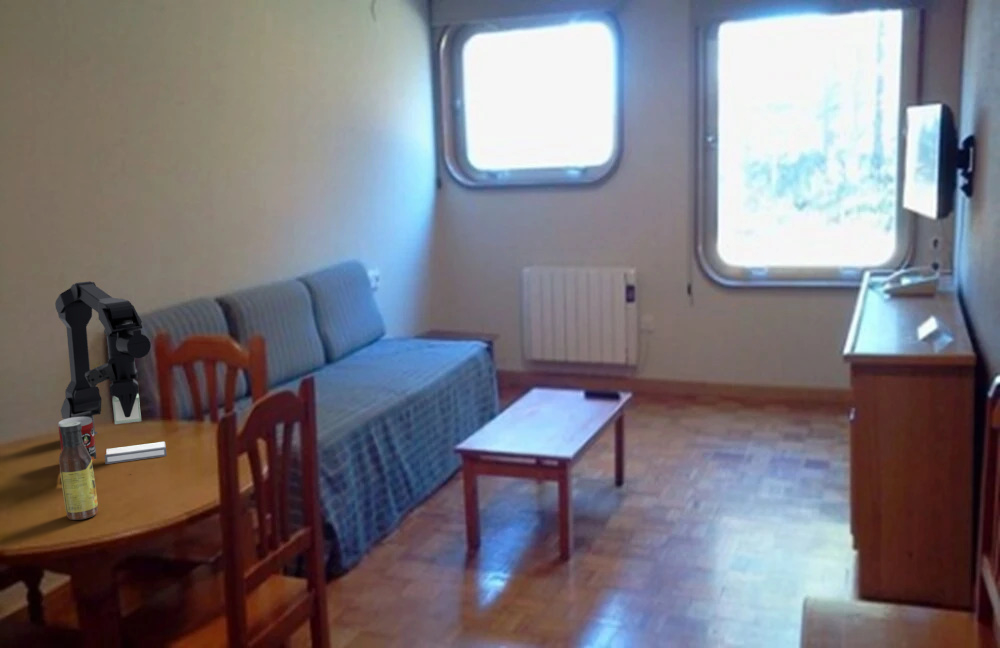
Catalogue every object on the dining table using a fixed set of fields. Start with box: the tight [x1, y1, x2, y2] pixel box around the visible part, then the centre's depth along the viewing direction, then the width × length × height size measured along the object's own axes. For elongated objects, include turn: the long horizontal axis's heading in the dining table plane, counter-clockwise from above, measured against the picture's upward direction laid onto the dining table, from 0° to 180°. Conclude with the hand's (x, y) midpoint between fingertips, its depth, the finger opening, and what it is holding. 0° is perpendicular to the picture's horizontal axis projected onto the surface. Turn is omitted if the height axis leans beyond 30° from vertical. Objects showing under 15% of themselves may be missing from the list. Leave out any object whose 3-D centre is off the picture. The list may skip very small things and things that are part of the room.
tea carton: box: [112, 393, 142, 425], centre depth 229 cm, size 4×6×6 cm
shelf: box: [104, 441, 168, 465], centre depth 234 cm, size 13×14×3 cm
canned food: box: [57, 417, 97, 462], centre depth 229 cm, size 8×8×11 cm
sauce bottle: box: [58, 422, 99, 521], centre depth 193 cm, size 7×6×20 cm
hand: (127, 414), depth 229 cm, fingers closed on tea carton, 4 cm apart
